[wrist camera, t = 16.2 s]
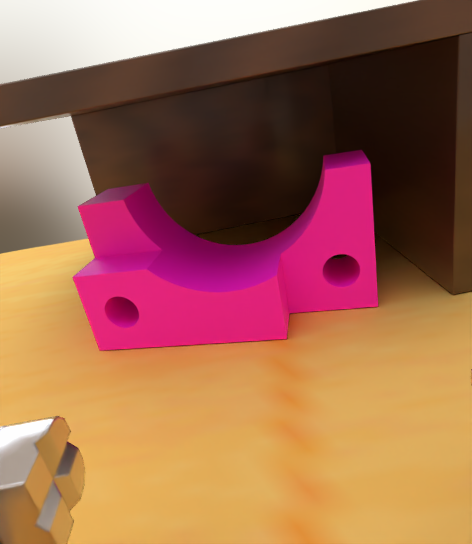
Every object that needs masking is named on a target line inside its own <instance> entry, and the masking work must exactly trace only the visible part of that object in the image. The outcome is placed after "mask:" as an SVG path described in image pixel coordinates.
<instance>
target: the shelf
mask: <svg viewBox="0 0 472 544" xmlns="http://www.w3.org/2000/svg"><path fill="white" fill-rule="evenodd" d="M68 116H71V118H72V121H73V124H74V128H75V131H76V134H77V137H78V140H79V143H80V146H81V150H82V153H83V156H84V159H85V162H86V165H87V168H88V171H89V175H90V178H91V181H92V184H93V187H94V190H95V193H96V196H97V195H98V194H100V193H102V192H104V191H105V190H107V189H111V188H118V187H124V186H131V185H137V184H143V183H149V185H150V188H151V190H152V192H153V194H154V196H155V198H156V199H157V201H158V202H159V204H160V205H161V207H162V208H163V209H164V211H165V212H166V213H167V214H168V215H169V216H170V217H171V218H172V219H173V220H174V221H175V222H176V223H177V224H179V225H180V226H181V227H182V228H184V229H185V230H187V231H188V232H190V233H192V234H194V235H196V234H201V233H206V232H211V231H216V230H221V229H226V228H230V227H235V226H240V225H245V224H250V223H255V222H260V221H265V220H270V219H275V218H280V217H285V216H290V215H295V214H300V213H303V212H304V211H305V209H306V208H307V207H308V205H309V204H310V202H311V200H312V198H313V196H314V194H315V192H316V189H317V187H318V184H319V181H320V177H321V172H322V167H323V156H324V155H330V154H336V153H343V152H349V151H356V150H362V151H363V152H364V154H365V155H366V157H367V159H368V160H369V162H370V165H371V184H372V202H373V220H374V232H375V233H376V234H377V235H379V236H380V237H381V238H382V239H384V240H385V241H386V242H387V243H389V244H390V245H391V246H392V247H394V248H395V249H396V250H397V251H399V252H400V253H401V254H402V255H404V256H405V257H406V258H407V259H409V260H410V261H411V262H412V263H414V264H415V265H416V266H417V267H419V268H420V269H421V270H422V271H424V272H425V273H426V274H427V275H429V276H430V277H431V278H433V279H434V280H435V281H436V282H438V283H439V284H440V285H441V286H443V287H444V288H445V289H446V290H448V291H449V292H450V293H451V294H458V293H463V292H468V291H472V0H418V1H413V2H408V3H403V4H398V5H393V6H388V7H383V8H378V9H373V10H368V11H363V12H358V13H353V14H348V15H343V16H338V17H333V18H328V19H323V20H318V21H314V22H308V23H303V24H298V25H293V26H288V27H284V28H278V29H273V30H268V31H263V32H258V33H253V34H248V35H243V36H238V37H233V38H229V39H223V40H219V41H213V42H208V43H204V44H198V45H194V46H188V47H184V48H178V49H173V50H168V51H163V52H158V53H154V54H149V55H143V56H138V57H133V58H129V59H123V60H118V61H113V62H108V63H104V64H99V65H94V66H89V67H84V68H79V69H74V70H69V71H64V72H59V73H54V74H49V75H44V76H39V77H34V78H29V79H24V80H19V81H14V82H9V83H4V84H0V128H5V127H11V126H16V125H22V124H28V123H34V122H39V121H45V120H51V119H56V118H62V117H68Z"/></svg>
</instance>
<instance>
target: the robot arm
mask: <svg viewBox="0 0 472 544" xmlns="http://www.w3.org/2000/svg"><path fill="white" fill-rule="evenodd" d="M471 385H472V370H471ZM70 432H71V430H70V428H69V426H68V424H67V423H66V421H65V419H64V418H62V417H59V416H55V417H50V418H44V419H39V420H33V421H27V422H22V423H16V424H10V425H8V426H0V544H67V543H68V540H69V536H70V533H71V530H72V527H73V523H74V520H73V518H72V516H71V514H70V512H69V511H70V510H71V509H72V508H73V507H74V506H75V505H76V504H77V503H78V502H79V500H80V499H81V496H82V492H83V489H84V482H85V467H84V462H83V458H82V455H81V453H80V451H79V448H77V447H76V446H74V445H72V444H71V443H69V442H67V440H68V438H69V435H70Z"/></svg>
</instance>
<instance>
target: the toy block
mask: <svg viewBox="0 0 472 544" xmlns="http://www.w3.org/2000/svg"><path fill="white" fill-rule="evenodd" d="M78 209H79V212H80V215H81V218H82V221H83V224H84V227H85V229H86V233H87V236H88V239H89V241H90V244H91V247H92V250H93V253H94V256H95V258H94V259H93V260H92V261H91V262H90V263H89V264H87V265H86V266H85V267H84V268H83V269H82V270H80V271H79V272H78V273H77V274H76V275H75V276H73V280H74V282H75V285H76V288H77V291H78V293H79V296H80V299H81V301H82V304H83V307H84V309H85V312H86V315H87V317H88V320H89V323H90V326H91V328H92V331H93V334H94V336H95V339H96V342H97V344H98V347H99V350H116V349H132V348H148V347H164V346H180V345H196V344H213V343H229V342H245V341H261V340H277V339H287V333H288V322H289V313H299V312H312V311H325V310H339V309H352V308H365V307H378V293H377V275H376V257H375V239H374V220H373V202H372V184H371V165H370V162H369V160H368V159H367V157H366V155H365V154H364V152H363V151H362V150H356V151H349V152H343V153H336V154H330V155H324V156H323V167H322V172H321V177H320V181H319V184H318V187H317V189H316V192H315V194H314V196H313V198H312V200H311V202H310V204H309V205H308V207H307V208H306V209H305V211H304V212H303V213H302V214H301V216H300V217H299V218H298V219H297V220H296V221H295V222H294V223H293V224H292V225H290V226H289V227H288V228H286V229H285V230H284V231H282V232H280V233H279V234H277V235H275V236H273V237H271V238H269V239H266V240H263V241H260V242H257V243H252V244H245V245H226V244H219V243H214V242H211V241H208V240H205V239H202V238H200V237H197V236H196V235H194V234H192V233H190V232H188V231H187V230H185V229H184V228H182V227H181V226H180V225H179V224H177V223H176V222H175V221H174V220H173V219H172V218H171V217H170V216H169V215H168V214H167V213H166V212H165V211H164V209H163V208H162V207H161V205H160V204H159V202H158V201H157V199H156V198H155V196H154V194H153V192H152V190H151V188H150V185H149V183H143V184H137V185H131V186H124V187H118V188H111V189H107V190H105V191H104V192H102V193H100V194H98V195H97V196H95V197H93V198H91V199H90V200H88V201H86V202H84V203H83V204H81V205H79V206H78ZM338 254H346V255H347V256H346V257H344V258H341V259H333V258H331V257H332V256H334V255H338Z"/></svg>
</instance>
